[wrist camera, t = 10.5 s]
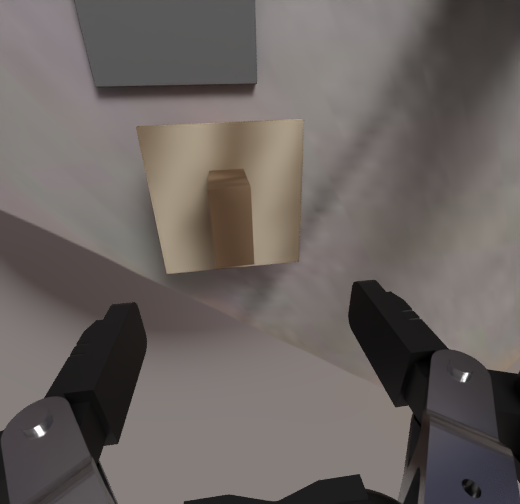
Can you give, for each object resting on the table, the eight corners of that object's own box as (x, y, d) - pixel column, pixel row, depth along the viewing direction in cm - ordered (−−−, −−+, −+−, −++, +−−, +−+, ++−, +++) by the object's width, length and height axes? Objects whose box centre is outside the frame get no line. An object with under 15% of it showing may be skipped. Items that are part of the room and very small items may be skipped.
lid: (301, 119, 20) (329, 124, 15) (296, 257, 25) (317, 295, 20) (139, 126, 19) (110, 134, 14) (168, 268, 24) (155, 313, 19)
